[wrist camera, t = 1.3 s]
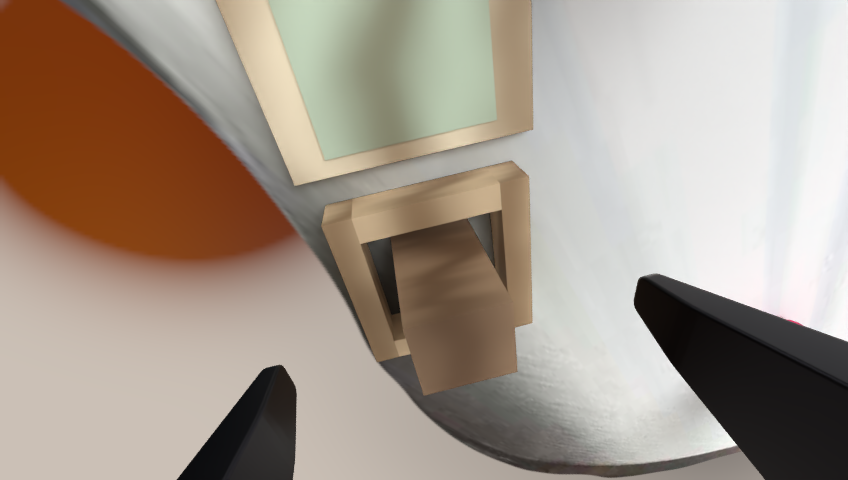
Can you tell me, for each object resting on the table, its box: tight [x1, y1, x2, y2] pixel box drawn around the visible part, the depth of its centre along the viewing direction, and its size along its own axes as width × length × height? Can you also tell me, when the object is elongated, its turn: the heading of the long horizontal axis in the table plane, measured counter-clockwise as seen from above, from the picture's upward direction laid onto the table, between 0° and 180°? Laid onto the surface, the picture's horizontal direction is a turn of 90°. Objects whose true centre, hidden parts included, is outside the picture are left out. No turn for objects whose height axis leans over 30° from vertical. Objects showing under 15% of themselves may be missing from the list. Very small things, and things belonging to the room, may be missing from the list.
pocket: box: [321, 161, 532, 362], centre depth 22 cm, size 11×11×2 cm
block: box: [390, 218, 517, 396], centre depth 20 cm, size 5×5×8 cm
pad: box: [216, 0, 533, 186], centre depth 16 cm, size 13×11×1 cm
